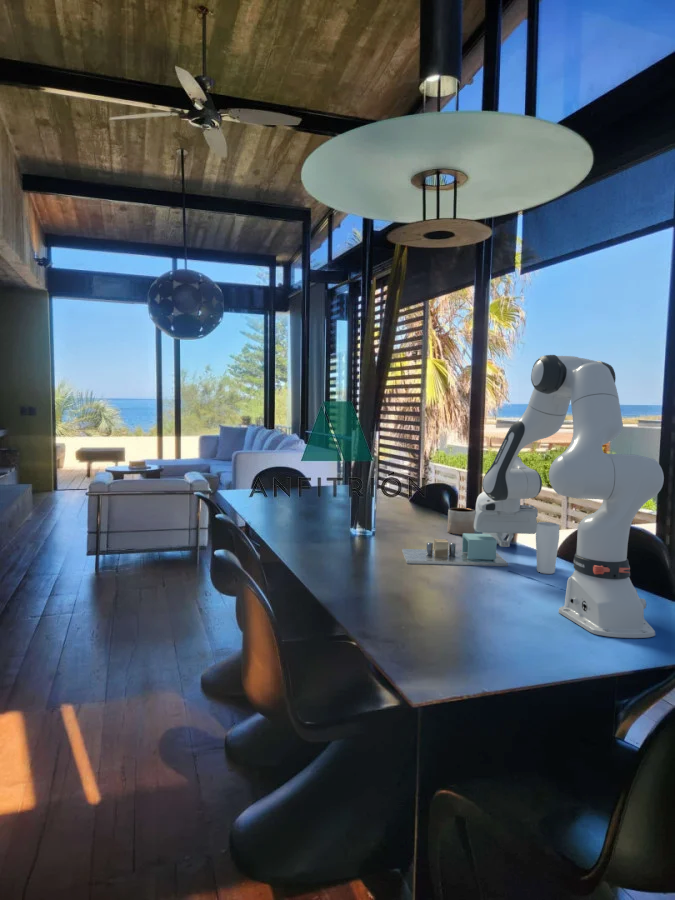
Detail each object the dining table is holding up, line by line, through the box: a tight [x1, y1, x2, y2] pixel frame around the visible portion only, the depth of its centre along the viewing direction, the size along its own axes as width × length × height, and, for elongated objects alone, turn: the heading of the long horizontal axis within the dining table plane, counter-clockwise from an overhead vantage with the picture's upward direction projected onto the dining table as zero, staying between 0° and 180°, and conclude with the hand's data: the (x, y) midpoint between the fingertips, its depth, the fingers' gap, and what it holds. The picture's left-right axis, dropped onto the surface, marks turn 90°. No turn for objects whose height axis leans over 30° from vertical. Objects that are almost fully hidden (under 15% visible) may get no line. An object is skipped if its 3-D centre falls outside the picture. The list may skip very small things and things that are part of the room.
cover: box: [461, 533, 498, 560], centre depth 194 cm, size 10×9×6 cm
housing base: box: [401, 542, 509, 567], centre depth 194 cm, size 16×32×5 cm, turn 89°
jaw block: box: [433, 538, 449, 557], centre depth 194 cm, size 4×4×5 cm
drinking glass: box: [535, 521, 560, 575], centre depth 179 cm, size 7×7×15 cm
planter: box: [446, 507, 476, 536], centre depth 238 cm, size 11×11×10 cm
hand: (504, 546), depth 194 cm, fingers closed
